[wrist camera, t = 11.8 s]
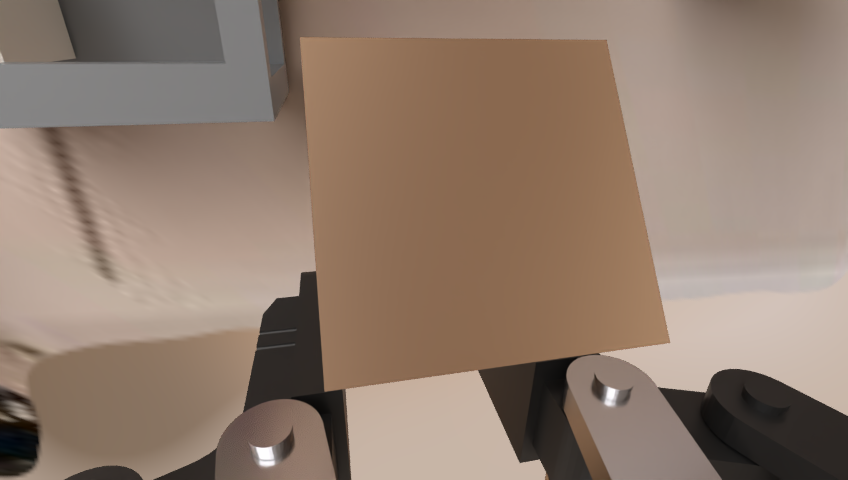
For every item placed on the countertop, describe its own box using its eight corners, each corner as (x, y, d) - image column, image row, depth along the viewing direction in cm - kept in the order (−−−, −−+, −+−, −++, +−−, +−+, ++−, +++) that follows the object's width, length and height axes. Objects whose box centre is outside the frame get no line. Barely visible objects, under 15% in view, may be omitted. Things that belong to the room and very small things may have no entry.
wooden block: (410, 258, 18) (607, 39, 4) (418, 332, 17) (669, 342, 4) (335, 264, 17) (300, 38, 4) (342, 341, 17) (323, 392, 3)
